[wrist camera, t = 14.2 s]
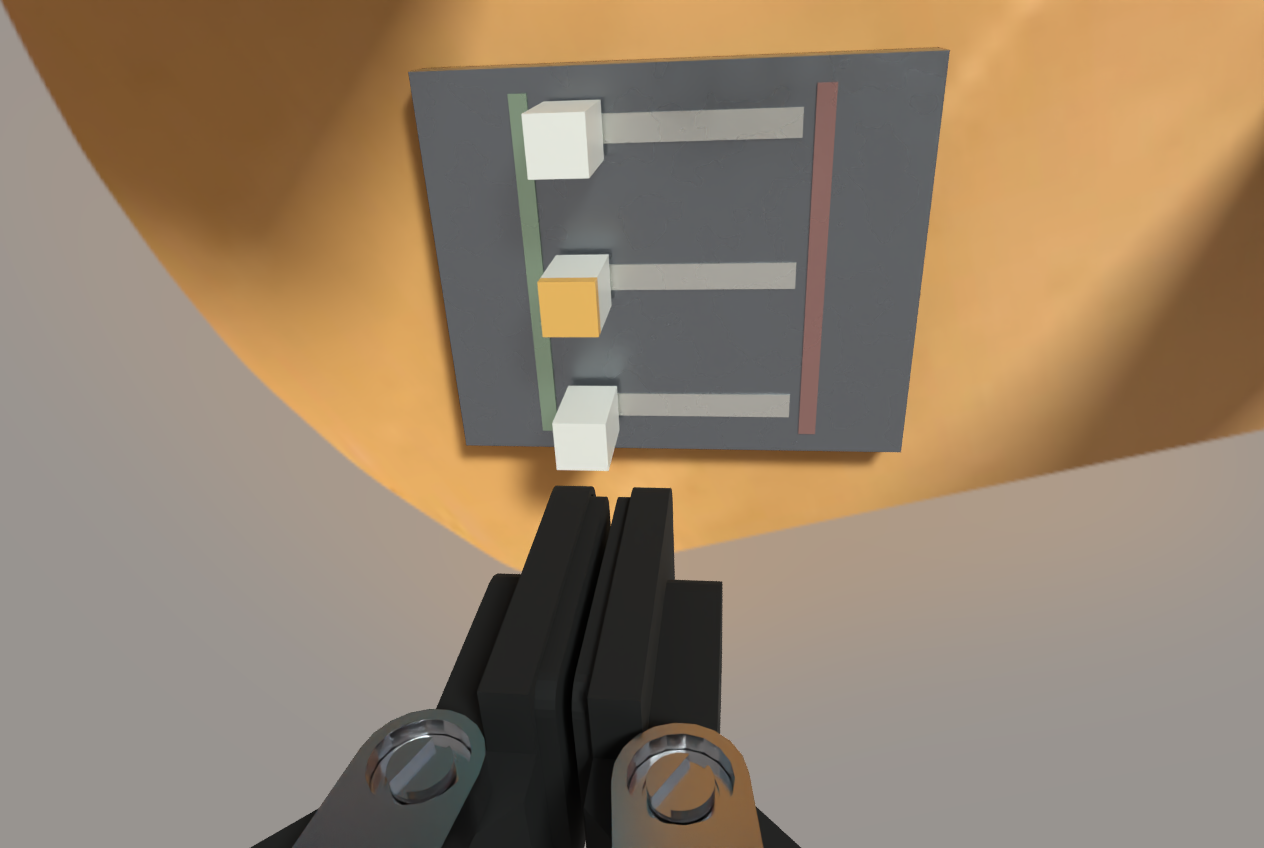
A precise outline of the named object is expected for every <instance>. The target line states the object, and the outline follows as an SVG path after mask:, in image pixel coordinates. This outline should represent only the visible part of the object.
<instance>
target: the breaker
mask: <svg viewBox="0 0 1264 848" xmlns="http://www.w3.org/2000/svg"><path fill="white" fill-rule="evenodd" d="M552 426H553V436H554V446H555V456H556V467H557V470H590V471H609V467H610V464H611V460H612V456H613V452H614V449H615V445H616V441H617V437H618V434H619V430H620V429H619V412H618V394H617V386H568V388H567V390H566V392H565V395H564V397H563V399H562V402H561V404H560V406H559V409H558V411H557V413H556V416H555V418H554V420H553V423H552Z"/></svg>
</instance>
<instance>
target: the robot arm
mask: <svg viewBox="0 0 1264 848" xmlns="http://www.w3.org/2000/svg"><path fill="white" fill-rule="evenodd" d="M674 573H675V572H674V536H673V501H672V490H671V488H637V487H634V488H633V490H632V493H631V497H618V499H617V503H616V507H615V511H614V515H613V520H612V524H610V510H609V501H608V498H607V497H596V494H595V490H594V488H593V487H592V486H555V487H554V489H553V491H552V493H551V496H550V499H549V501H548V504H547V507H546V509H545V512H544V515H543V517H542V520H541V523H540V525H539V528H538V531H537V533H536V536H535V539H534V541H533V544H532V547H531V549H530V552H529V555H528V557H527V560H526V562H525V565H524V568H523V570H522V573H521V574H496V575H494V576H493V578H492V579H491V581H490V583H489V585H488V588H487V590H486V592H485V595H484V597H483V599H482V602H481V604H480V606H479V609H478V611H477V613H476V616H475V618H474V621H473V623H472V625H471V628H470V630H469V633H468V635H467V637H466V640H465V642H464V644H463V646H462V649H461V651H460V654H459V656H458V658H457V661H456V663H455V666H454V668H453V670H452V672H451V675H450V677H449V680H448V682H447V684H446V687H445V689H444V691H443V694H442V696H441V699H440V701H439V703H438V705H437V708H436V709H427V710H422V711H416V712H411V713H408V714H406V715H404V716H401V717H399V718H396V719H394V720H392V721H390V722H389V723H387V724H386V725H384V726H383V727H382V728H380V729H379V730H377V731H376V732H374V733H373V734H372V736H371V737H370V738H369V739H368V740H367V741H366V742H365V743H364V744H363V746H362V747H361V748H360V749H359V751H358V752H357V754H356V755H355V757H354V758H353V760H352V761H351V762H350V764H349V765H348V767H347V768H346V770H345V771H344V773H343V774H342V775H341V777H340V778H339V780H338V781H337V783H336V784H335V786H334V787H333V789H332V790H331V791H330V793H329V794H328V796H327V797H326V799H325V800H324V802H323V803H322V805H321V806H320V807H319V808H318V809H317V810H315V811H313V812H312V813H310V814H308V815H306V816H305V817H303V818H301V819H299V820H298V821H296V822H295V823H293V824H291V825H289V826H287V827H285V828H284V829H282V830H280V831H279V832H277V833H275V834H273V835H272V836H270V837H268V838H266V839H265V840H263V841H261V842H259V843H258V844H256V845H254V846H253V847H251V848H584V846H585V840H586V848H801V847H800V846H799V845H797V844H796V843H795V842H794V841H793V840H792V839H791V838H790V837H789V836H788V835H786V834H785V833H784V832H783V831H782V830H781V829H780V828H779V827H778V826H777V825H776V824H774V823H773V822H772V821H771V820H770V819H769V818H768V817H767V816H766V815H764V813H762V812H761V811H760V810H759V809H758V808H757V807H756V806H755V801H754V796H753V791H752V786H751V780H750V775H749V772H748V769H747V766H746V764H745V761H744V758H743V756H742V754H741V753H740V752H739V751H738V750H737V749H736V747H735V746H734V745H733V744H732V743H731V741H730V740H728V739H726V738H725V737H723V736H722V735H720V712H721V710H720V709H721V673H722V582H720V581H718V582H717V581H690V580H675V576H674V575H675V574H674Z"/></svg>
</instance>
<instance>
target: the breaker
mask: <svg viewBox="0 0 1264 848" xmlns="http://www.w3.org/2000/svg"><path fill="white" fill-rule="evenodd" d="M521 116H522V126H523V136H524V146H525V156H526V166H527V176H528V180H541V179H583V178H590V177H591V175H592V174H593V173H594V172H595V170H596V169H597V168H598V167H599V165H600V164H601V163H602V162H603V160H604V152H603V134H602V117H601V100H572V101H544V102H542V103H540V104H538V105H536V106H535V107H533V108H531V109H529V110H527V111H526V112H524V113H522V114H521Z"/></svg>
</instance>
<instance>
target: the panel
mask: <svg viewBox="0 0 1264 848" xmlns="http://www.w3.org/2000/svg"><path fill="white" fill-rule="evenodd" d="M949 52H950V50H947V49H943V48H939V47H933V48H909V49H884V50H859V51H835V52H810V53H786V54H761V55H737V56H712V57H688V58H663V59H638V60H614V61H589V62H565V63H540V64H516V65H491V66H466V67H442V68H423V69H419V70H415V71H410V72H408V73H409V79H410V86H411V92H412V99H413V105H414V111H415V118H416V124H417V131H418V137H419V143H420V150H421V156H422V163H423V169H424V176H425V182H426V188H427V195H428V201H429V208H430V214H431V220H432V227H433V233H434V240H435V246H436V253H437V259H438V265H439V272H440V278H441V285H442V291H443V298H444V304H445V310H446V317H447V323H448V330H449V336H450V342H451V349H452V355H453V362H454V368H455V375H456V381H457V387H458V394H459V400H460V407H461V413H462V419H463V426H464V432H465V439H466V445H480V446H543V447H555V446H554V436H553V426H552V423H553V420H554V418H555V416H556V413H557V411H558V409H559V406H560V404H561V402H562V399H563V397H564V395H565V392H566V390H567V388H568V386H617V394H618V412H619V429H620V430H619V434H618V437H617V441H616V445H615V448H669V449H732V450H795V451H857V452H901V446H902V438H903V430H904V422H905V413H906V405H907V397H908V389H909V381H910V372H911V364H912V356H913V348H914V340H915V331H916V323H917V315H918V307H919V298H920V290H921V282H922V274H923V266H924V257H925V249H926V241H927V233H928V225H929V216H930V208H931V200H932V192H933V183H934V175H935V167H936V159H937V151H938V142H939V134H940V126H941V118H942V110H943V101H944V93H945V85H946V77H947V68H948V60H949ZM572 100H601V117H602V134H603V152H604V160H603V162H602V163H601V164H600V165H599V167H598V168H597V169H596V170H595V172H594V173H593V174H592V175H591V177H590V178H583V179H541V180H528V176H527V166H526V156H525V146H524V136H523V126H522V116H521V114H522V113H524V112H526V111H527V110H529V109H531V108H533V107H535V106H536V105H538V104H540V103H542V102H544V101H572ZM600 254H609V270H610V287H611V305H612V306H611V308H610V311H609V313H608V316H607V318H606V321H605V323H604V326H603V328H602V331H601V333H600V336H599V337H543V335H542V325H541V315H540V305H539V295H538V285H537V282H538V281H539V279H540V278H541V276H542V275H543V273H544V272H545V270H546V269H547V267H548V266H549V265H550V263H551V262H552V260H553V259H554V257H555V256H556V255H600Z"/></svg>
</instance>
